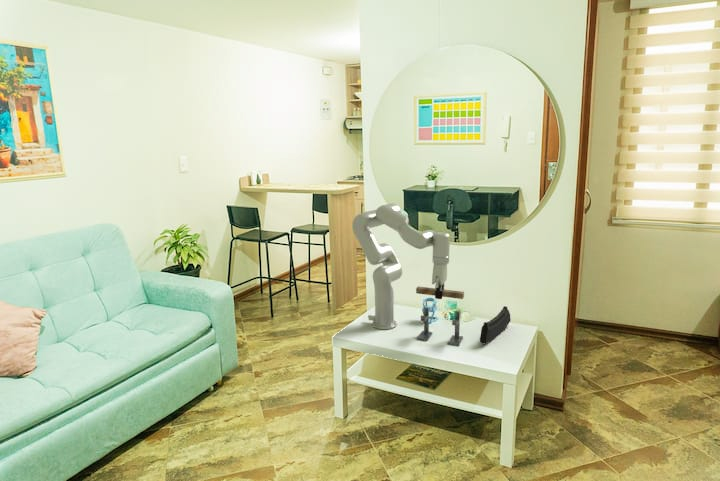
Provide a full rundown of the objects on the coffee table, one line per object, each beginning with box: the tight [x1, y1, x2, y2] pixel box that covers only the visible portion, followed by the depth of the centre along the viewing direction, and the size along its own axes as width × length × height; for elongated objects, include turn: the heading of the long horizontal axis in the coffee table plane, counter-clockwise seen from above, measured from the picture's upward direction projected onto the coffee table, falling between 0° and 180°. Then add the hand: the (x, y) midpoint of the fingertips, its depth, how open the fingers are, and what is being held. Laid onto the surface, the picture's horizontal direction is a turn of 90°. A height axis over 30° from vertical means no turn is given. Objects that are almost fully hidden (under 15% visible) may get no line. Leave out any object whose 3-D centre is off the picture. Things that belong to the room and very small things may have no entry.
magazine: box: [479, 305, 512, 345], centre depth 234 cm, size 17×3×30 cm
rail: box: [415, 285, 465, 300], centre depth 227 cm, size 22×3×2 cm, turn 67°
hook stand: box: [416, 307, 464, 347], centre depth 231 cm, size 20×9×14 cm, turn 67°
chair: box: [421, 297, 439, 325], centre depth 254 cm, size 8×8×12 cm
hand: (439, 297), depth 227 cm, fingers closed on rail, 3 cm apart
